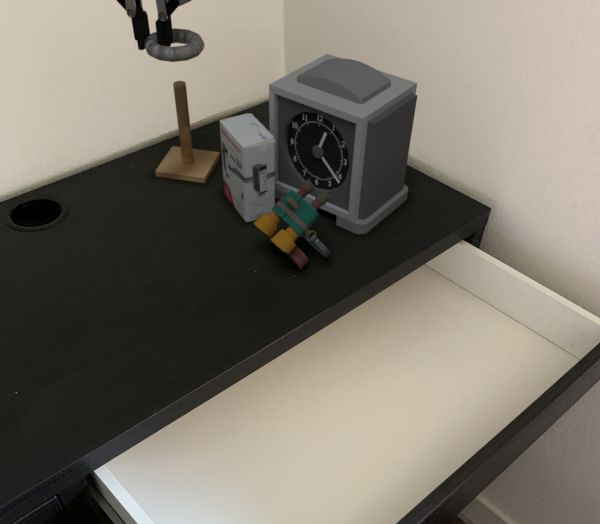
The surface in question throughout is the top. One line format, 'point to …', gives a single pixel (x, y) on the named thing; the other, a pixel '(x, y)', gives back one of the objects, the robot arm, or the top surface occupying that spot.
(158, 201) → the top surface
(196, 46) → the ring
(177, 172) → the stand
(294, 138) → the alarm clock
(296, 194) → the teal and yellow figure
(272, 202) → the ink box
